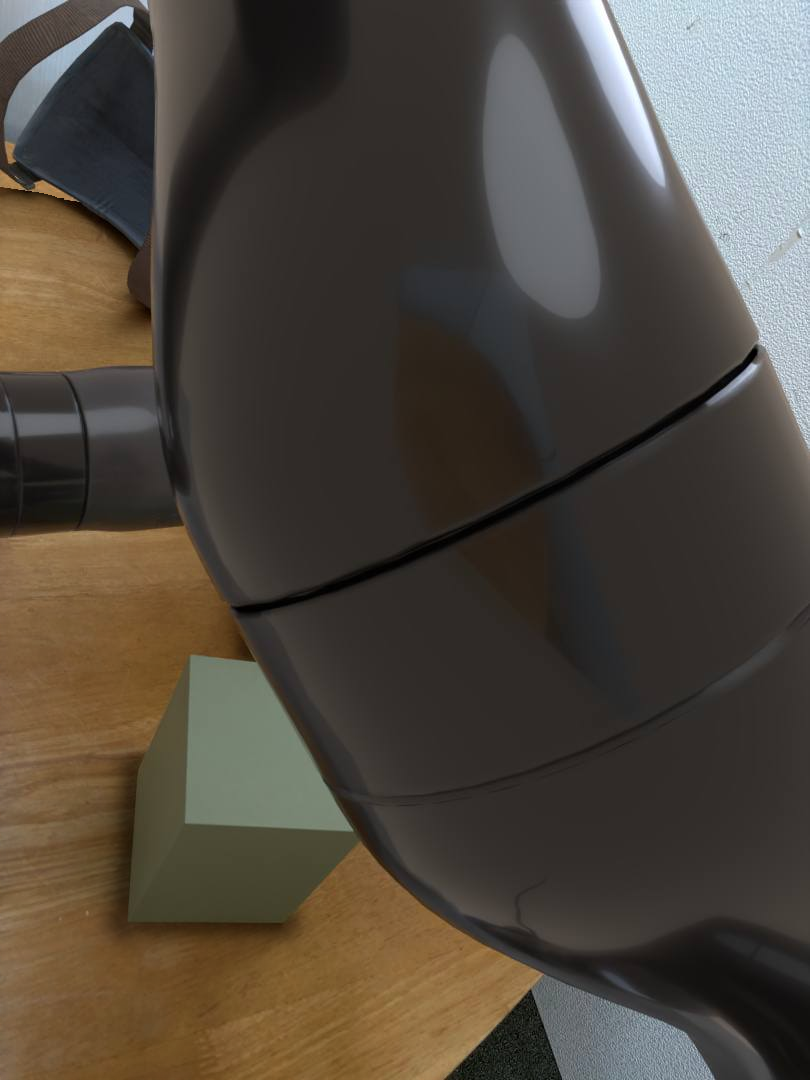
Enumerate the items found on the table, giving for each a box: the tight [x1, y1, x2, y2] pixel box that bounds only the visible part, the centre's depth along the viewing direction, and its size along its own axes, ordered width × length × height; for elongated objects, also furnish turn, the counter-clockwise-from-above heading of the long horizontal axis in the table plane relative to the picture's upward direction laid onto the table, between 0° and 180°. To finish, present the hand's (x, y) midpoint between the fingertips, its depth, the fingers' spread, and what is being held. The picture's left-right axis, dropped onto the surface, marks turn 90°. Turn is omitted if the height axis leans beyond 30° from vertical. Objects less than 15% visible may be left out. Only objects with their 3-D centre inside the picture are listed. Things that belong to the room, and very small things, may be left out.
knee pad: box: [0, 0, 155, 310], centre depth 73 cm, size 18×20×25 cm
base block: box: [127, 654, 361, 924], centre depth 44 cm, size 8×8×12 cm
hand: (447, 434), depth 52 cm, fingers closed on pink block, 5 cm apart
